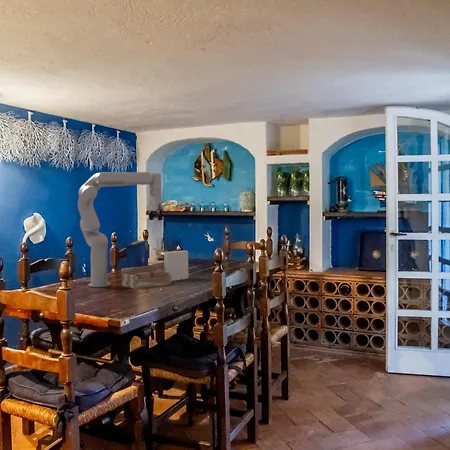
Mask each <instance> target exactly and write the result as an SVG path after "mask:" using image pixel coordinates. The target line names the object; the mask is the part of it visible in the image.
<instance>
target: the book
mask: <svg viewBox="0 0 450 450" xmlns="http://www.w3.org/2000/svg"><path fill="white" fill-rule="evenodd" d="M148 243H149V242H148V240H143V239H142V240H139V239H137V240H133V241H131V242H129V243H127V244H125V245H126V247H125V249H126V268H134V267H143V266H149V244H148Z"/></svg>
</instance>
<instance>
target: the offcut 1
mask: <svg viewBox="0 0 450 450" xmlns="http://www.w3.org/2000/svg"><path fill="white" fill-rule="evenodd" d="M135 276H137V277H138V280H139V279H147V278H151V275H150V273H148V272H144V273H136V274H135Z"/></svg>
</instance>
